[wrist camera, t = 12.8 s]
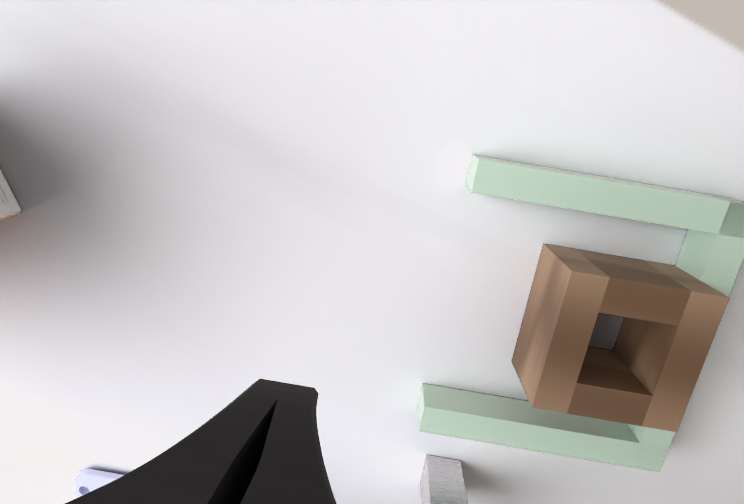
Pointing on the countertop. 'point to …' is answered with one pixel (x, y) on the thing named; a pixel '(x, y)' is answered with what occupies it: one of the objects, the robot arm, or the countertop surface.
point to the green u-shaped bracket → (612, 198)
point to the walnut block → (634, 343)
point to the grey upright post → (442, 481)
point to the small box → (7, 200)
